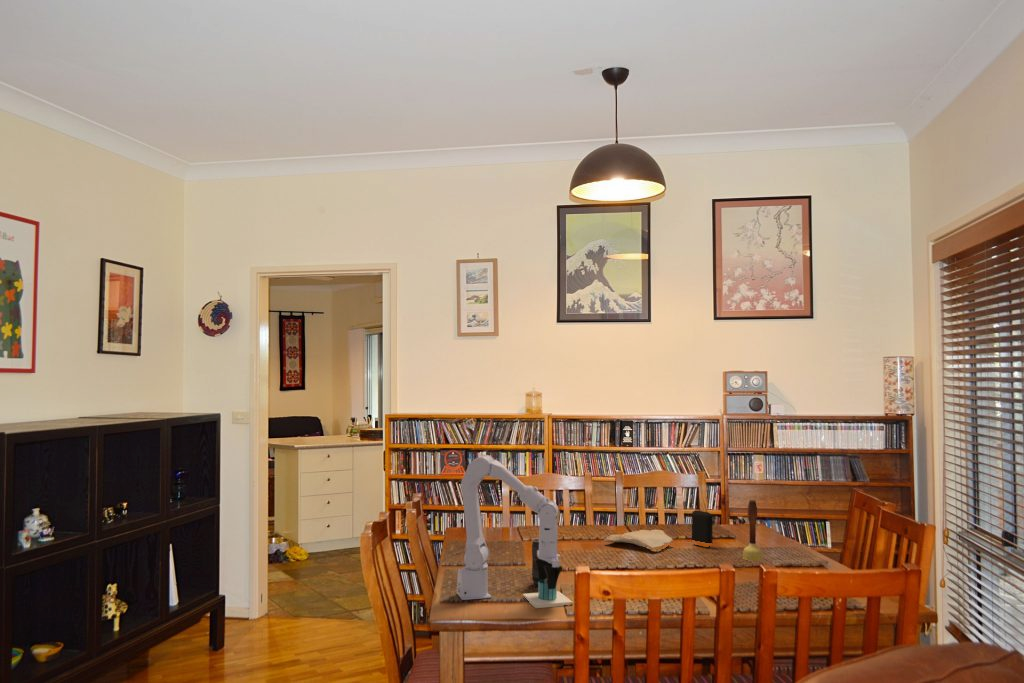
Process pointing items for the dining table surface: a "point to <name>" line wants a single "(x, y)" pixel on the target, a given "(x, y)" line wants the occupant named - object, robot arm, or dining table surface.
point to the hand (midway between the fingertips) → (547, 585)
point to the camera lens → (534, 556)
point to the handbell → (752, 535)
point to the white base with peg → (539, 603)
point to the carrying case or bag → (702, 526)
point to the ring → (546, 591)
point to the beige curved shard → (642, 538)
